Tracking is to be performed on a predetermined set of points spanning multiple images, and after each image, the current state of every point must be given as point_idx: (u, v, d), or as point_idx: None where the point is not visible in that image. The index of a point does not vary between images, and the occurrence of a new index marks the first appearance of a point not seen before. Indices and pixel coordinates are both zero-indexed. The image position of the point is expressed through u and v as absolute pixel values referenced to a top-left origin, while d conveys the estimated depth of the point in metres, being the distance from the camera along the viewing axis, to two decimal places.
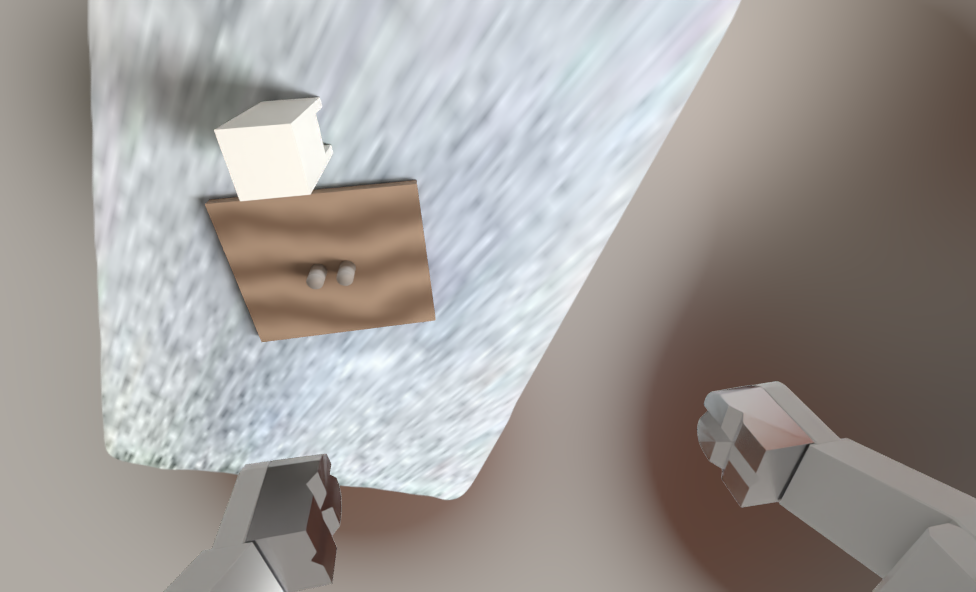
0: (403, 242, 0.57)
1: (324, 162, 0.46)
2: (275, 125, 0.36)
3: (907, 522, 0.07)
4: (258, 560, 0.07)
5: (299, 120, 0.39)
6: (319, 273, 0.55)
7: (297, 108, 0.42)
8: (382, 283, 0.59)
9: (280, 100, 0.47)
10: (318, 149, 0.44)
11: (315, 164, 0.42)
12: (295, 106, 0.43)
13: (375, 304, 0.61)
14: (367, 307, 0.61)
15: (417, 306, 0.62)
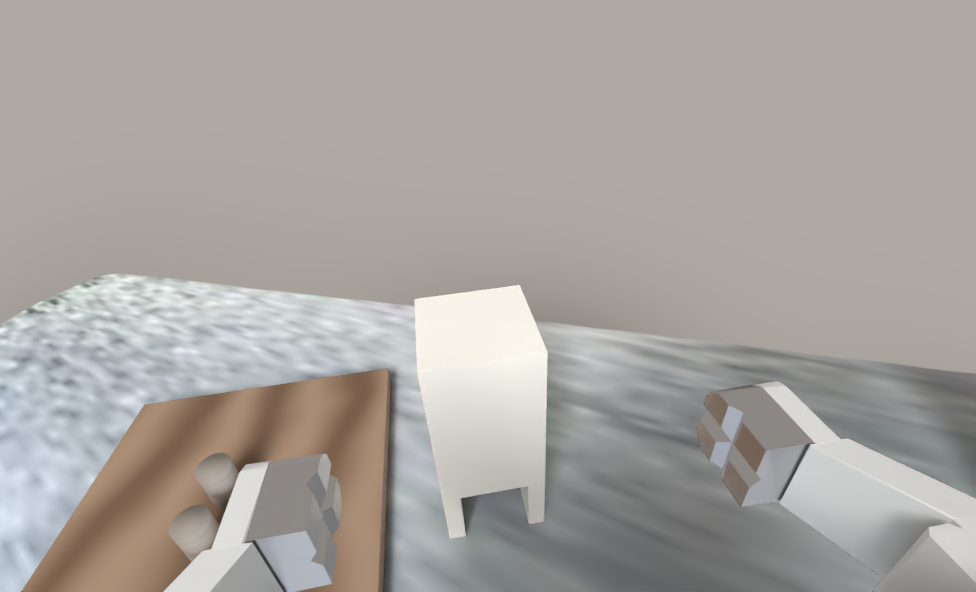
0: None
1: (448, 483, 0.25)
2: (539, 336, 0.22)
3: (907, 522, 0.07)
4: (258, 560, 0.07)
5: (540, 398, 0.22)
6: (226, 478, 0.28)
7: None
8: None
9: None
10: (475, 465, 0.24)
11: (457, 433, 0.23)
12: None
13: None
14: None
15: None
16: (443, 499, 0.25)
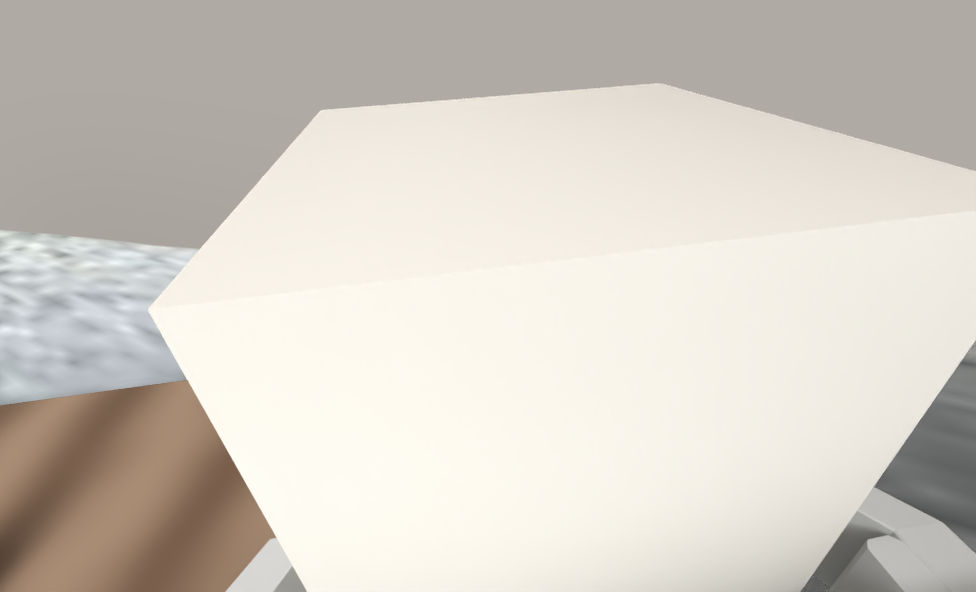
0: None
1: None
2: (896, 158, 0.04)
3: (851, 533, 0.07)
4: None
5: (858, 472, 0.05)
6: None
7: None
8: None
9: None
10: None
11: None
12: None
13: None
14: None
15: None
16: None
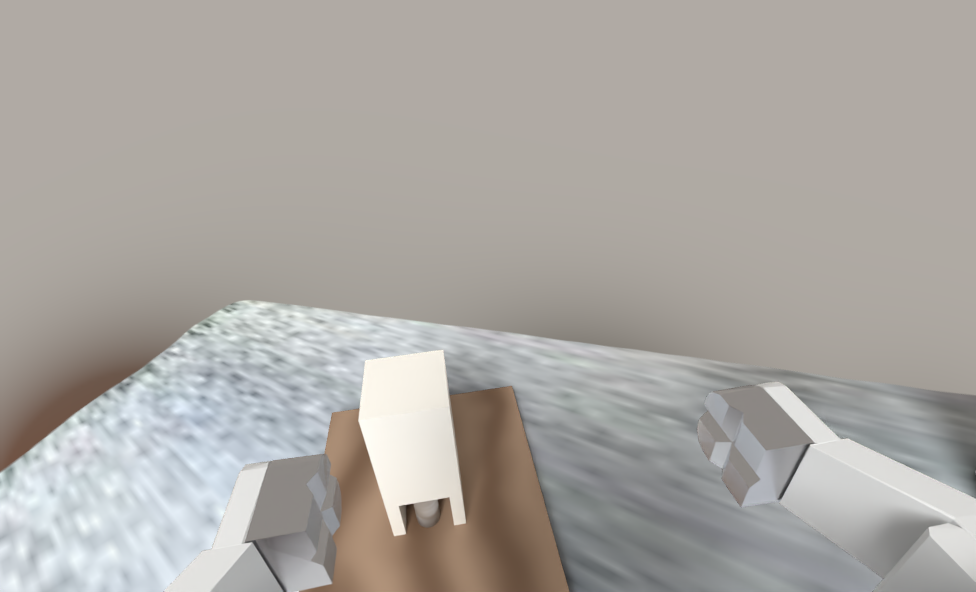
0: None
1: (388, 495, 0.34)
2: (447, 393, 0.31)
3: (907, 521, 0.07)
4: (258, 560, 0.07)
5: (449, 436, 0.31)
6: None
7: None
8: (392, 570, 0.35)
9: None
10: (407, 482, 0.33)
11: (391, 460, 0.32)
12: None
13: (353, 558, 0.36)
14: (350, 545, 0.36)
15: None
16: (386, 506, 0.35)
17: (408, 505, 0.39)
